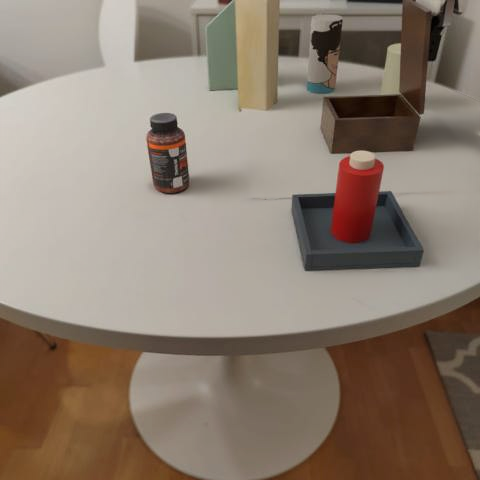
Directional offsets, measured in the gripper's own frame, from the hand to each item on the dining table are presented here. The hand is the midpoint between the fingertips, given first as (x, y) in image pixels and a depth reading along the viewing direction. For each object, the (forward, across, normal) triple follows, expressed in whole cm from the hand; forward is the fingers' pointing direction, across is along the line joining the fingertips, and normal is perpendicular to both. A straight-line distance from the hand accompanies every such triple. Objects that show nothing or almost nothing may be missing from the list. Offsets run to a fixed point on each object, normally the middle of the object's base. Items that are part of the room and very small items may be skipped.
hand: (424, 59), depth 77 cm
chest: (+14, 0, +8) cm, 16 cm away
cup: (+14, +31, +11) cm, 36 cm away
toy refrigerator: (+15, +21, +27) cm, 37 cm away
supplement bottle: (+15, -14, +43) cm, 48 cm away
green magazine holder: (+15, +37, +30) cm, 50 cm away
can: (+14, +18, -4) cm, 23 cm away
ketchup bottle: (+14, -30, +17) cm, 37 cm away
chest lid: (-1, 0, +2) cm, 2 cm away
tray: (+14, -30, +17) cm, 37 cm away
